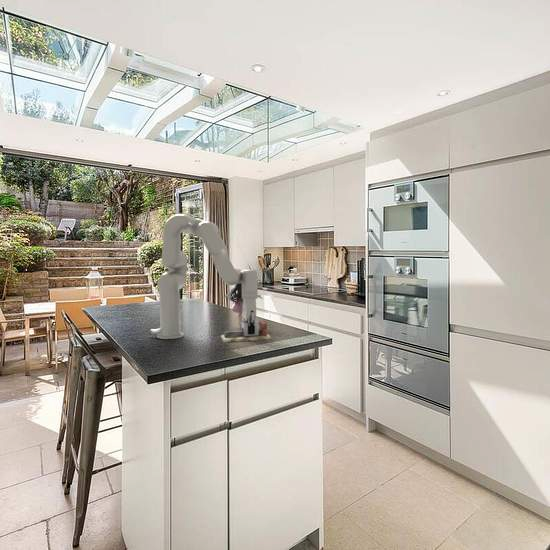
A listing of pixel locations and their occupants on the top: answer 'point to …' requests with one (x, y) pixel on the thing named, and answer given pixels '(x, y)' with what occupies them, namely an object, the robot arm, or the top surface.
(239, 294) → the figurine
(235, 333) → the board
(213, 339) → the top surface
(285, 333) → the top surface
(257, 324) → the lock block
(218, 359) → the top surface
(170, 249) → the robot arm
